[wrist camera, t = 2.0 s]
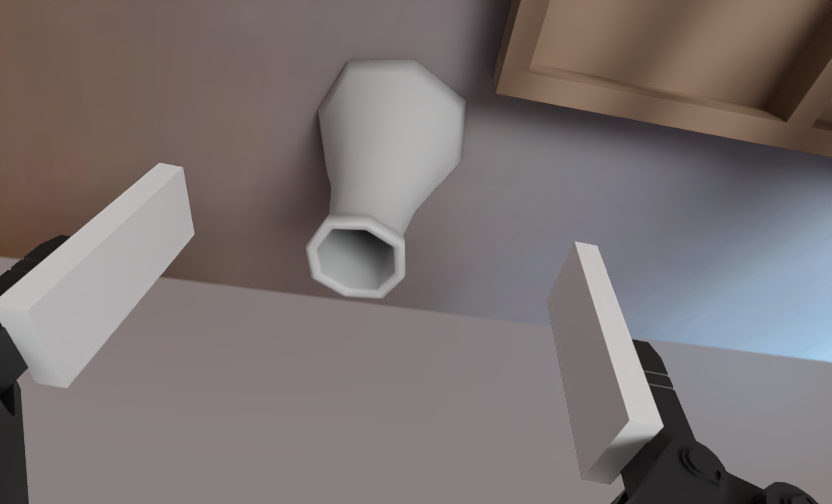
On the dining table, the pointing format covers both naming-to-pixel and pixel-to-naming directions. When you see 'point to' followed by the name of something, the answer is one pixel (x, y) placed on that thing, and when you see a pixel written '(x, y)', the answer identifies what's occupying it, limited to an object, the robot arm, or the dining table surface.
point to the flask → (380, 169)
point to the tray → (680, 64)
